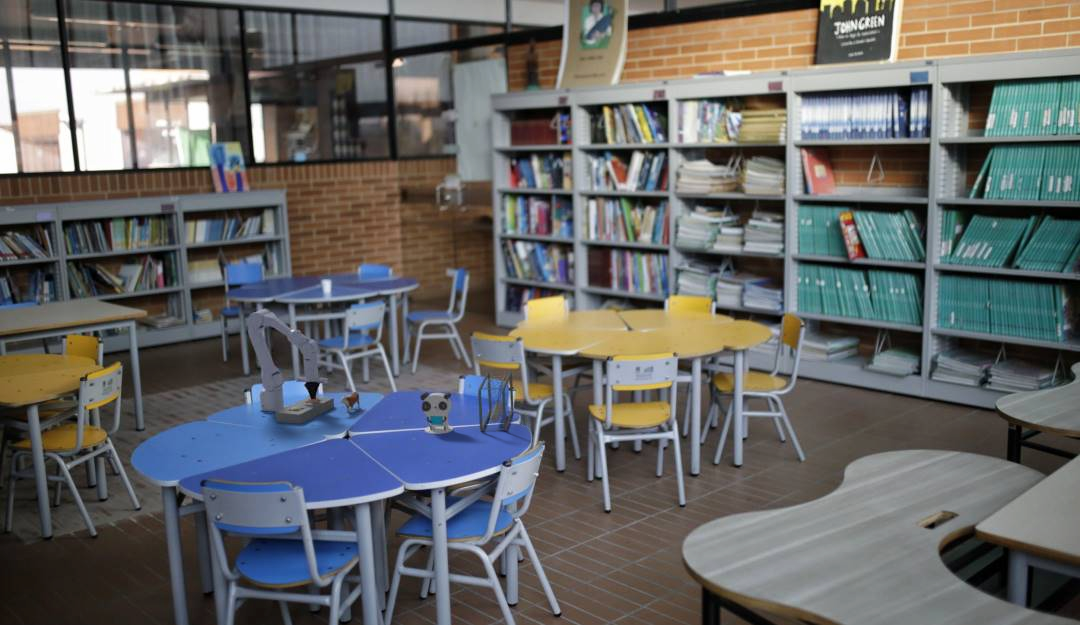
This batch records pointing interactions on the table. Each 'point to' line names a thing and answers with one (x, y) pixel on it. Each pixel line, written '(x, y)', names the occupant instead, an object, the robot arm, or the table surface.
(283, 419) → the block
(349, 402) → the bull figurine
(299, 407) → the birch plunger
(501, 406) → the newton's cradle
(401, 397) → the table surface
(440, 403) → the panda figurine
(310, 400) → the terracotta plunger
